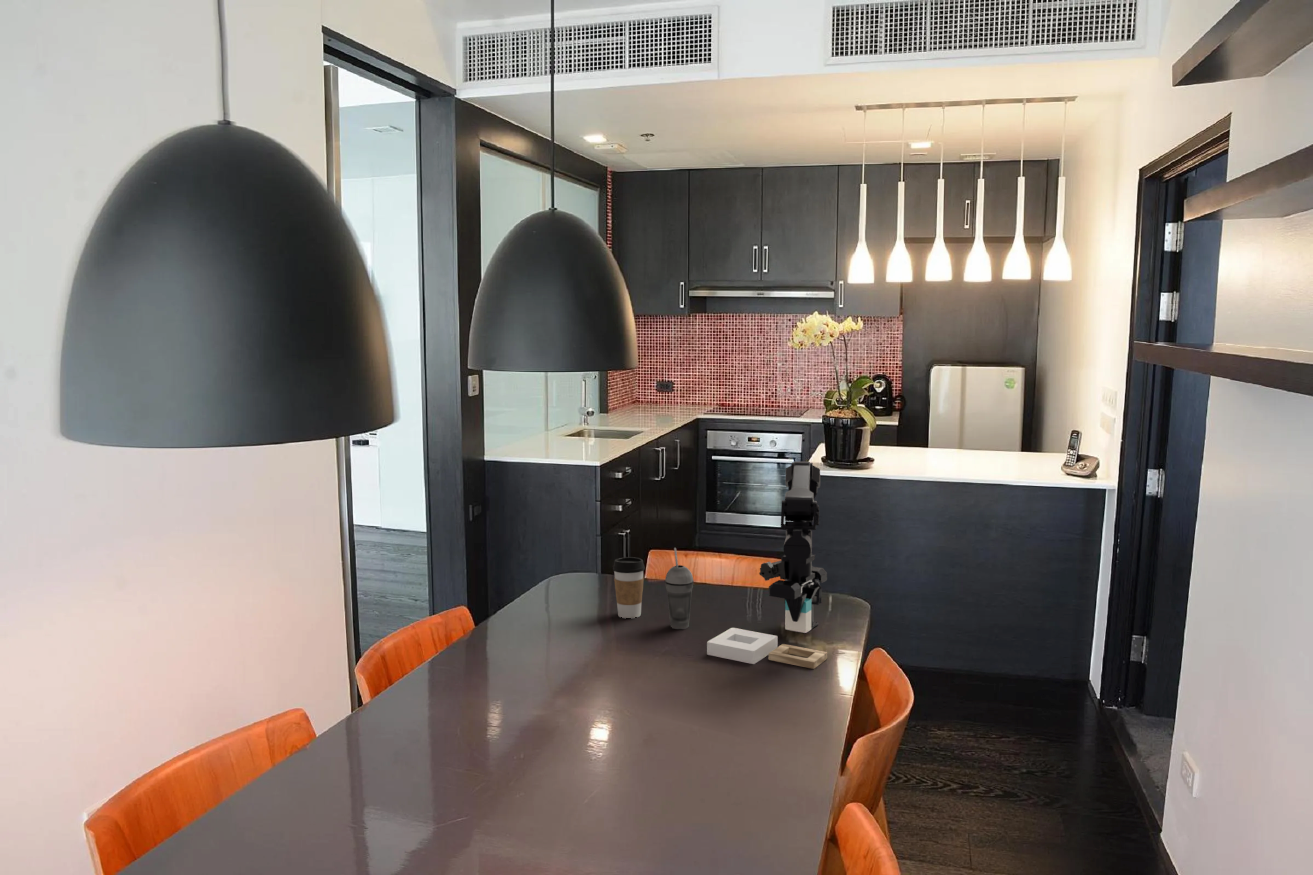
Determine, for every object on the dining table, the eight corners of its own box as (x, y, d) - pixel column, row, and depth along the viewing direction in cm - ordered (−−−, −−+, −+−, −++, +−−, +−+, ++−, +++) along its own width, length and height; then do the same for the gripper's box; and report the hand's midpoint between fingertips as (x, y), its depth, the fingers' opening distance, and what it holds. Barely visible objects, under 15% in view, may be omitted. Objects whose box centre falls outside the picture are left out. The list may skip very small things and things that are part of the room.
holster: (782, 649, 217) (782, 643, 217) (827, 658, 212) (827, 652, 211) (768, 659, 211) (768, 653, 211) (813, 668, 205) (813, 662, 205)
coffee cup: (608, 618, 242) (607, 561, 240) (619, 609, 250) (618, 554, 248) (639, 621, 240) (639, 564, 238) (649, 611, 248) (649, 556, 246)
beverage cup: (682, 632, 230) (682, 553, 228) (659, 627, 235) (658, 549, 232) (699, 625, 236) (699, 547, 234) (676, 619, 240) (675, 543, 238)
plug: (790, 625, 213) (790, 595, 212) (811, 629, 210) (811, 598, 210) (785, 629, 211) (785, 598, 210) (805, 632, 208) (806, 602, 207)
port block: (732, 639, 225) (732, 627, 225) (777, 648, 219) (777, 635, 218) (707, 654, 215) (707, 641, 215) (753, 664, 209) (753, 651, 208)
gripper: (783, 539, 221) (783, 603, 222) (747, 555, 205) (746, 624, 207) (828, 544, 214) (827, 610, 216) (793, 562, 199) (793, 633, 201)
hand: (798, 619), depth 210 cm, fingers closed on plug, 3 cm apart
